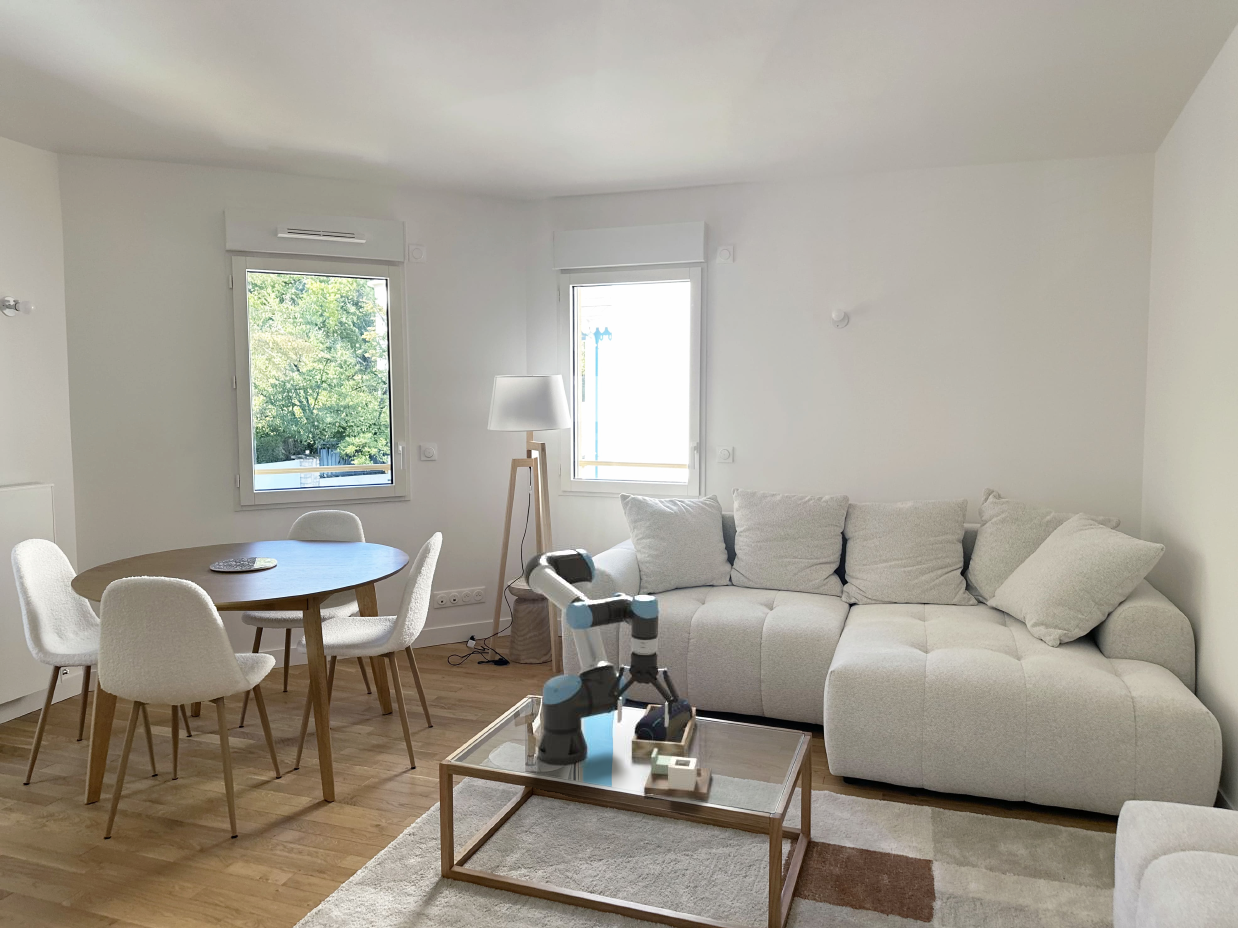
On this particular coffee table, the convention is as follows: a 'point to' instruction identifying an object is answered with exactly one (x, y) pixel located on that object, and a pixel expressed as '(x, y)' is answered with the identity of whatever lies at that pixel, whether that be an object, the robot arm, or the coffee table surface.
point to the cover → (659, 763)
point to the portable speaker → (654, 722)
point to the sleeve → (682, 774)
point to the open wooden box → (664, 748)
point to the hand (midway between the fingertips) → (643, 722)
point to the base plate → (659, 786)
